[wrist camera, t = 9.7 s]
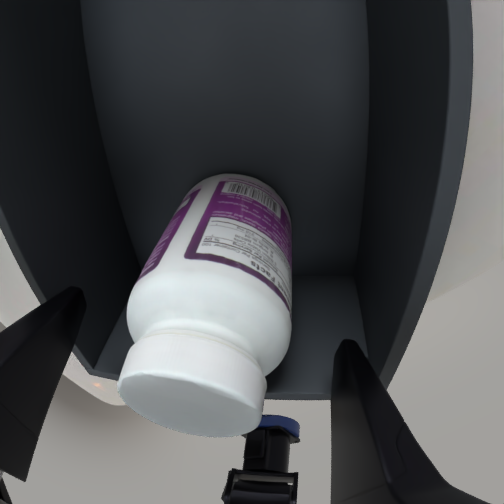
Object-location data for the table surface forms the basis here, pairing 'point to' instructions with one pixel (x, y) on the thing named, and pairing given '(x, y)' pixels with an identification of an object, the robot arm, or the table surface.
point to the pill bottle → (212, 310)
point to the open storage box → (238, 154)
